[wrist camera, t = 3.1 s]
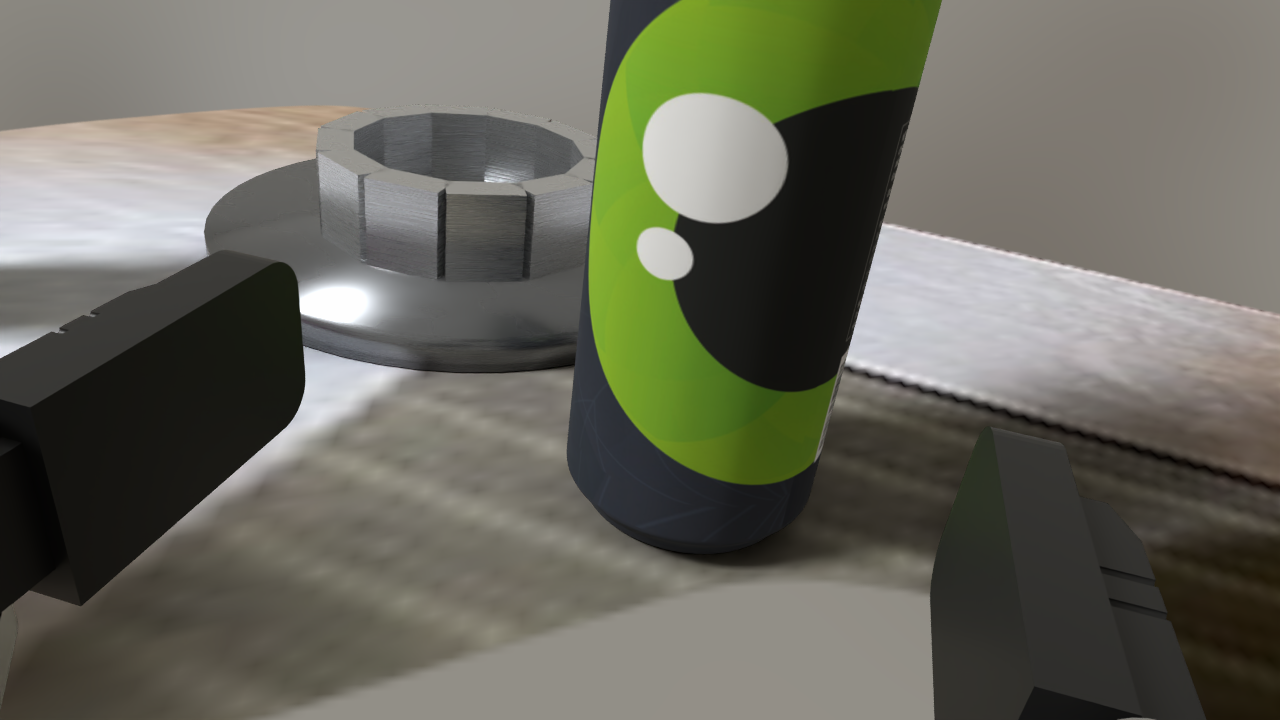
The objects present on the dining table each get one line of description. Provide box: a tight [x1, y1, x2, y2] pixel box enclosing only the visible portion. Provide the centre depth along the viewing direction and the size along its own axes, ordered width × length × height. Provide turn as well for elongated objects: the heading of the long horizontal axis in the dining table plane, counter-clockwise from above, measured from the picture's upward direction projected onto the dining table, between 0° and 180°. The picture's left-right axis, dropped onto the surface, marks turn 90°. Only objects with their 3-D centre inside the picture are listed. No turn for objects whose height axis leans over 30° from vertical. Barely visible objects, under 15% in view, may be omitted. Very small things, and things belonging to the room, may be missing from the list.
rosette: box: [204, 104, 597, 372], centre depth 33 cm, size 18×18×4 cm
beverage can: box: [567, 0, 942, 554], centre depth 20 cm, size 6×6×15 cm
